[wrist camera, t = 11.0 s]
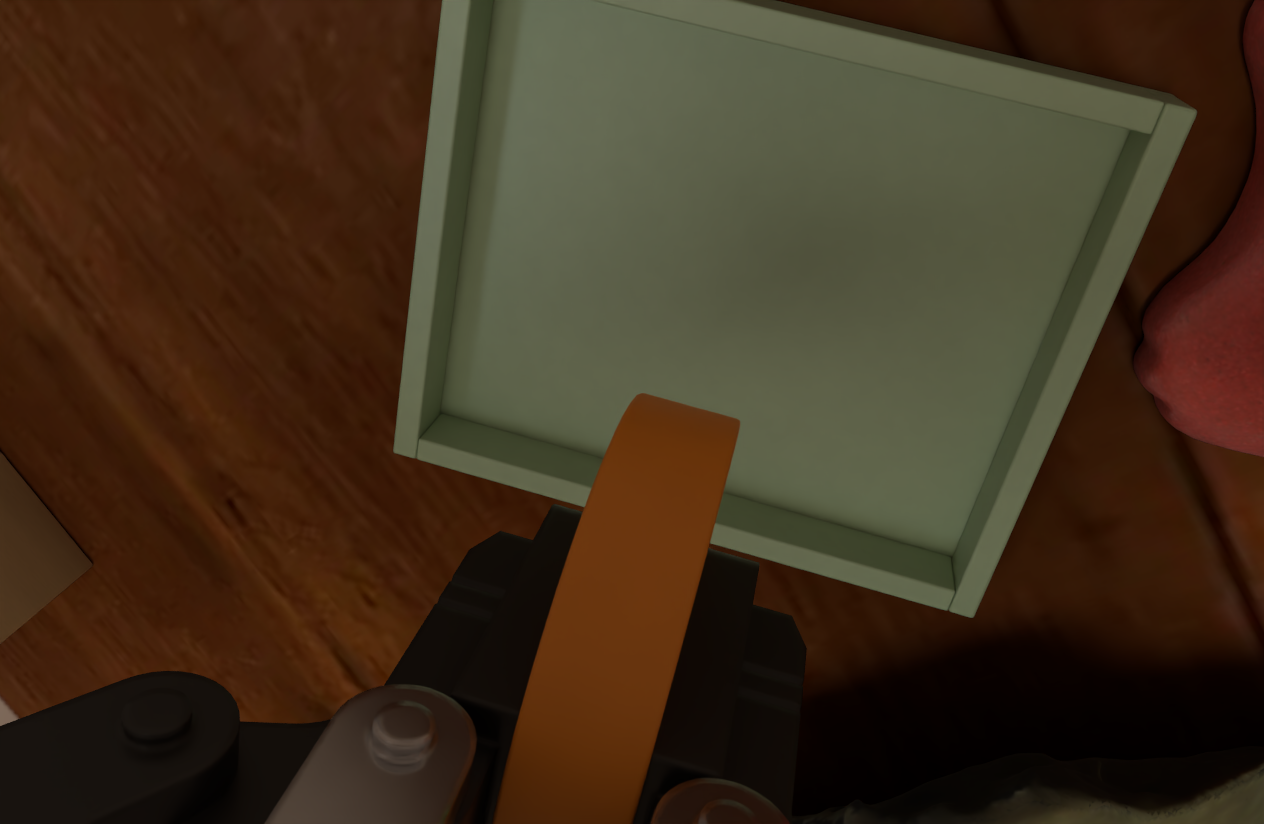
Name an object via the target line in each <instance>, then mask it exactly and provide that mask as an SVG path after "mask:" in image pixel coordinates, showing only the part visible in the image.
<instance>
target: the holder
mask: <svg viewBox="0 0 1264 824" xmlns="http://www.w3.org/2000/svg"><path fill="white" fill-rule="evenodd" d="M92 566H93V564H92V563H91V562H90V560H89V559H88V558H87V557H86V556H85V554H84V553H83V552H82V551H81V549H80V548H79V547H78V546H77V545H76V543H75V542H74V541H73V540H72V538H71V537H70V536H69V535H68V534H67V532H66V531H65V530H64V529H63V527H62V526H61V525H60V524H59V523H58V521H57V520H56V519H55V518H54V516H53V515H52V514H51V513H50V512H49V510H48V509H47V508H46V507H45V505H44V504H43V503H42V502H41V501H40V499H39V498H38V497H37V496H36V494H35V493H34V492H33V491H32V490H31V488H30V487H29V486H28V485H27V483H26V482H25V481H24V480H23V479H22V477H21V476H20V475H19V474H18V472H17V471H16V470H15V469H14V468H13V466H12V465H11V464H10V463H9V461H8V460H7V459H6V458H5V457H4V455H3V454H2V453H1V452H0V644H1V643H2V642H3V641H4V640H6V639H7V638H8V637H9V636H10V635H12V634H13V633H14V632H15V631H16V630H17V629H19V628H20V627H21V626H22V625H23V624H25V623H26V622H27V621H28V620H29V619H30V618H32V617H33V616H34V615H35V614H36V613H38V612H39V611H40V610H41V609H42V608H44V607H45V606H46V605H47V604H48V603H49V602H51V601H52V600H53V599H54V598H55V597H57V596H58V595H59V594H60V593H61V592H63V591H64V590H65V589H66V588H67V587H68V586H70V585H71V584H72V583H73V582H74V581H76V580H77V579H78V578H79V577H80V576H81V575H83V574H84V573H85V572H86V571H87V570H89V569H90V568H91V567H92Z"/></svg>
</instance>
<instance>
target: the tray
mask: <svg viewBox="0 0 1264 824" xmlns="http://www.w3.org/2000/svg"><path fill="white" fill-rule="evenodd" d="M1196 115H1197V110H1196V109H1194V108H1192V107H1191V106H1189V105H1188V104H1186V103H1184V102H1183V101H1181V100H1179V99H1178V98H1177V97H1175V96H1174V95H1172V94H1170V93H1165V92H1161V91H1157V90H1153V89H1148V88H1144V87H1140V86H1136V85H1132V84H1127V83H1123V82H1119V81H1115V80H1110V79H1106V78H1102V77H1098V76H1093V75H1089V74H1085V73H1081V72H1077V71H1072V70H1068V69H1064V68H1060V67H1055V66H1051V65H1047V64H1043V63H1038V62H1034V61H1030V60H1026V59H1022V58H1017V57H1013V56H1009V55H1005V54H1000V53H996V52H992V51H988V50H984V49H979V48H975V47H971V46H967V45H962V44H958V43H954V42H950V41H945V40H941V39H937V38H933V37H929V36H924V35H920V34H916V33H912V32H907V31H903V30H899V29H895V28H890V27H886V26H882V25H878V24H874V23H869V22H865V21H861V20H857V19H852V18H848V17H844V16H840V15H835V14H831V13H827V12H823V11H819V10H814V9H810V8H806V7H802V6H797V5H793V4H789V3H785V2H781V1H776V0H442V7H441V16H440V26H439V35H438V44H437V53H436V62H435V72H434V81H433V90H432V99H431V108H430V118H429V127H428V136H427V145H426V154H425V164H424V173H423V182H422V191H421V200H420V209H419V219H418V228H417V237H416V246H415V255H414V265H413V274H412V283H411V292H410V301H409V311H408V320H407V329H406V338H405V347H404V357H403V366H402V375H401V384H400V393H399V403H398V412H397V421H396V430H395V439H394V449H393V451H394V453H397V454H400V455H404V456H407V457H411V458H416V457H417V459H418V460H421V461H425V462H428V463H432V464H435V465H439V466H442V467H446V468H449V469H453V470H456V471H460V472H463V473H467V474H470V475H474V476H477V477H481V478H484V479H488V480H491V481H495V482H498V483H502V484H505V485H509V486H512V487H516V488H519V489H523V490H526V491H530V492H533V493H537V494H540V495H544V496H547V497H551V498H554V499H558V500H561V501H565V502H568V503H572V504H575V505H579V506H582V507H585V505H586V502H587V499H588V496H589V494H590V491H591V488H592V486H593V483H594V480H595V478H596V475H597V473H598V470H599V468H600V465H601V463H602V460H603V458H604V455H605V453H606V451H607V448H608V446H609V444H610V441H611V439H612V437H613V435H614V432H615V430H616V428H617V426H618V424H619V422H620V420H621V418H622V416H623V414H624V412H625V411H626V409H627V407H628V406H629V404H630V403H631V401H632V400H633V399H634V398H635V396H636V395H638V394H640V393H646V394H649V395H653V396H657V397H660V398H664V399H668V400H671V401H675V402H678V403H682V404H686V405H689V406H693V407H697V408H700V409H704V410H708V411H711V412H715V413H718V414H722V415H726V416H729V417H733V418H737V419H738V420H740V429H739V433H738V438H737V442H736V446H735V450H734V453H733V457H732V461H731V465H730V469H729V473H728V477H727V480H726V484H725V488H724V492H723V496H722V499H721V503H720V507H719V511H718V515H717V518H716V522H715V526H714V530H713V533H712V537H711V541H710V543H711V544H715V545H718V546H722V547H725V548H729V549H732V550H736V551H739V552H743V553H746V554H750V555H753V556H757V557H760V558H764V559H767V560H771V561H774V562H778V563H781V564H785V565H788V566H792V567H795V568H799V569H802V570H806V571H809V572H813V573H816V574H820V575H823V576H827V577H830V578H834V579H837V580H840V581H844V582H847V583H851V584H854V585H858V586H861V587H865V588H868V589H872V590H875V591H879V592H882V593H886V594H889V595H893V596H896V597H900V598H903V599H907V600H910V601H914V602H917V603H921V604H924V605H928V606H931V607H935V608H938V609H942V610H948V609H949V611H950V612H953V613H956V614H960V615H963V616H967V617H970V618H973V617H974V615H975V613H976V611H977V609H978V606H979V604H980V602H981V600H982V597H983V595H984V593H985V591H986V588H987V586H988V584H989V582H990V579H991V577H992V575H993V573H994V570H995V568H996V566H997V564H998V561H999V559H1000V557H1001V555H1002V552H1003V550H1004V548H1005V546H1006V543H1007V541H1008V539H1009V537H1010V534H1011V532H1012V530H1013V528H1014V525H1015V523H1016V521H1017V519H1018V516H1019V514H1020V512H1021V510H1022V507H1023V505H1024V503H1025V501H1026V498H1027V496H1028V494H1029V491H1030V489H1031V487H1032V485H1033V482H1034V480H1035V478H1036V476H1037V473H1038V471H1039V469H1040V467H1041V464H1042V462H1043V460H1044V458H1045V455H1046V453H1047V451H1048V449H1049V446H1050V444H1051V442H1052V440H1053V437H1054V435H1055V433H1056V431H1057V428H1058V426H1059V424H1060V422H1061V419H1062V417H1063V415H1064V413H1065V410H1066V408H1067V406H1068V404H1069V401H1070V399H1071V397H1072V395H1073V392H1074V390H1075V388H1076V386H1077V383H1078V381H1079V379H1080V377H1081V374H1082V372H1083V370H1084V368H1085V365H1086V363H1087V361H1088V359H1089V356H1090V354H1091V352H1092V350H1093V347H1094V345H1095V343H1096V341H1097V338H1098V336H1099V334H1100V332H1101V329H1102V327H1103V325H1104V322H1105V320H1106V318H1107V316H1108V313H1109V311H1110V309H1111V307H1112V304H1113V302H1114V300H1115V298H1116V295H1117V293H1118V291H1119V289H1120V286H1121V284H1122V282H1123V280H1124V277H1125V275H1126V273H1127V271H1128V268H1129V266H1130V264H1131V262H1132V259H1133V257H1134V255H1135V253H1136V250H1137V248H1138V246H1139V244H1140V241H1141V239H1142V237H1143V235H1144V232H1145V230H1146V228H1147V226H1148V223H1149V221H1150V219H1151V217H1152V214H1153V212H1154V210H1155V208H1156V205H1157V203H1158V201H1159V199H1160V196H1161V194H1162V192H1163V190H1164V187H1165V185H1166V183H1167V181H1168V178H1169V176H1170V174H1171V172H1172V169H1173V167H1174V165H1175V163H1176V160H1177V158H1178V156H1179V153H1180V151H1181V149H1182V147H1183V144H1184V142H1185V140H1186V138H1187V135H1188V133H1189V131H1190V129H1191V126H1192V124H1193V122H1194V120H1195V117H1196Z"/></svg>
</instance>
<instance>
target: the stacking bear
mask: <svg viewBox="0 0 1264 824" xmlns="http://www.w3.org/2000/svg"><path fill="white" fill-rule="evenodd" d="M1243 48H1244V57H1245V60H1246V64H1247V68H1248V72H1249V76H1250V80H1251V84H1252V89H1253V94H1254V99H1255V104H1256V125H1257V133H1256V143H1255V153H1254V157H1253V162H1252V167H1251V170H1250V174H1249V177H1248V180H1247V182H1246V184H1245V187H1244V189H1243V191H1242V194H1241V196H1240V198H1239V201H1238V203H1237V205H1236V207H1235V209H1234V211H1233V213H1232V214H1231V216H1230V218H1229V219H1228V221H1227V223H1226V224H1225V226H1224V227H1223V229H1222V230H1221V231H1220V233H1219V234H1218V236H1217V237H1216V239H1215V240H1214V241H1213V242H1212V243H1211V244H1210V245H1209V246H1208V247H1207V248H1206V249H1205V250H1204V251H1203V252H1202V253H1201V254H1200V255H1199V256H1198V257H1197V258H1196V259H1195V260H1194V261H1193V262H1191V263H1190V264H1189V265H1188V266H1187V267H1186V268H1184V269H1183V270H1182V271H1181V272H1180V273H1179V274H1177V275H1176V276H1175V277H1174V278H1173V279H1172V280H1171V281H1169V282H1168V283H1167V284H1166V285H1165V286H1164V287H1163V288H1162V289H1161V290H1160V292H1159V293H1158V294H1157V295H1156V297H1155V298H1154V299H1153V301H1152V302H1151V303H1150V305H1149V306H1148V308H1147V309H1146V311H1145V315H1144V318H1143V321H1142V329H1143V332H1144V339H1143V341H1142V344H1141V345H1140V347H1139V348H1138V350H1137V351H1136V353H1135V355H1134V360H1133V366H1134V371H1135V373H1136V376H1137V378H1138V380H1139V381H1140V383H1141V384H1142V386H1143V387H1144V388H1145V389H1146V390H1147V391H1148V392H1150V393H1151V394H1153V395H1154V400H1155V404H1156V406H1157V408H1158V410H1159V412H1160V414H1161V415H1162V416H1163V417H1164V418H1165V419H1166V421H1167V422H1168V423H1170V424H1171V425H1172V426H1173V427H1174V428H1176V429H1177V430H1179V431H1181V432H1183V433H1184V434H1186V435H1188V436H1190V437H1192V438H1194V439H1196V440H1199V441H1202V442H1205V443H1209V444H1212V445H1216V446H1220V447H1223V448H1227V449H1230V450H1234V451H1239V452H1243V453H1248V454H1252V455H1257V456H1261V457H1264V0H1254V2H1253V4H1252V6H1251V8H1250V10H1249V12H1248V15H1247V18H1246V21H1245V26H1244V32H1243Z"/></svg>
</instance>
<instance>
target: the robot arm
mask: <svg viewBox="0 0 1264 824" xmlns="http://www.w3.org/2000/svg"><path fill="white" fill-rule="evenodd" d="M582 513H583V512H581V511H577V510H574V509H570V508H567V507H563V506H560V505H556V504H553V505H552V507H551V508H550V510H549V512H548V514H547V516H546V518H545V519H544V521H543V523H542V525H541V527H540V529H539V531H538V532H537V534H536V536H535V538H534V540H530V539H526V538H523V537H520V536H516V535H513V534H509V533H506V532H502V531H500V532H498V533H496V534H495V535H493V536H491V537H490V538H488V539H486V540H485V541H483V542H481V543H480V544H478V545H476V546H475V547H473V548H471V549H470V550H469V551H468V553H467V554H466V556H465V558H464V559H463V561H462V562H461V564H460V566H459V567H458V569H457V570H456V572H455V574H454V575H453V578H452V581H451V582H450V581H449V583H448V585H447V586H446V588H445V589H444V591H443V593H442V594H441V596H440V597H439V601H438V603H437V604H435V605H434V607H433V609H432V610H431V612H430V613H429V615H428V616H427V618H426V620H425V621H424V623H423V624H422V626H421V628H420V629H419V631H418V632H417V634H416V636H415V637H414V639H413V640H412V642H411V644H410V645H409V647H408V648H407V650H406V651H405V653H404V655H403V656H402V658H401V659H400V661H399V663H398V664H397V666H396V667H395V669H394V671H393V672H392V674H391V675H390V677H389V679H388V680H387V682H386V683H385V685H384V686H379V687H376V688H372V689H369V690H367V691H364V692H362V693H360V694H358V695H356V696H354V697H353V698H351V699H350V700H348V701H347V702H346V703H345V704H344V705H342V706H341V707H340V708H339V710H338V711H337V712H336V713H335V715H334V716H333V717H332V719H330V720H326V721H322V722H314V723H304V724H287V723H262V722H240V717H239V710H238V707H237V703H236V702H235V700H234V698H233V697H232V695H231V694H230V693H229V692H228V691H227V690H226V689H225V688H224V687H223V686H221V685H220V684H218V683H217V682H215V681H213V680H211V679H209V678H206V677H204V676H200V675H197V674H193V673H187V672H180V671H161V672H151V673H146V674H141V675H137V676H133V677H130V678H127V679H124V680H121V681H119V682H116V683H113V684H111V685H108V686H105V687H103V688H100V689H97V690H95V691H92V692H90V693H87V694H84V695H82V696H79V697H76V698H74V699H71V700H68V701H66V702H63V703H60V704H58V705H55V706H52V707H50V708H47V709H44V710H42V711H39V712H36V713H34V714H31V715H29V716H26V717H23V718H21V719H18V720H16V721H13V722H10V723H7V724H5V725H2V726H0V824H492V820H493V816H494V811H495V807H496V802H497V798H498V794H499V790H500V786H501V782H502V778H503V774H504V769H505V765H506V761H507V757H508V754H509V750H510V746H511V742H512V739H513V735H514V731H515V727H516V724H517V720H518V716H519V713H520V709H521V706H522V702H523V698H524V695H525V691H526V688H527V684H528V681H529V677H530V674H531V670H532V667H533V664H534V660H535V657H536V654H537V650H538V647H539V644H540V640H541V637H542V633H543V630H544V627H545V624H546V621H547V618H548V614H549V611H550V608H551V605H552V602H553V598H554V595H555V592H556V589H557V586H558V583H559V580H560V577H561V574H562V571H563V568H564V565H565V562H566V559H567V556H568V553H569V550H570V547H571V544H572V541H573V538H574V535H575V533H576V530H577V527H578V524H579V521H580V518H581V515H582ZM758 571H759V563H758V562H754V561H751V560H748V559H744V558H741V557H737V556H734V555H730V554H727V553H723V552H720V551H716V550H713V549H709V548H708V552H707V556H706V559H705V563H704V567H703V570H702V574H701V578H700V582H699V585H698V589H697V593H696V596H695V600H694V604H693V607H692V611H691V615H690V618H689V622H688V626H687V630H686V633H685V637H684V640H683V644H682V648H681V651H680V655H679V659H678V662H677V666H676V670H675V673H674V677H673V681H672V684H671V688H670V692H669V695H668V699H667V703H666V706H665V710H664V713H663V717H662V721H661V724H660V728H659V732H658V735H657V739H656V742H655V746H654V750H653V753H652V757H651V760H650V764H649V768H648V771H647V775H646V778H645V782H644V786H643V789H642V793H641V796H640V800H639V804H638V807H637V811H636V814H635V818H634V821H633V824H792V804H793V793H794V782H795V771H796V760H797V749H798V738H799V727H800V716H801V713H800V709H801V705H802V694H803V686H802V685H803V681H804V672H805V661H806V650H807V648H806V646H805V644H804V642H803V640H802V637H801V635H800V633H799V631H798V628H797V626H796V624H795V622H794V620H793V617H792V616H790V615H787V614H783V613H780V612H777V611H773V610H770V609H766V608H763V607H759V606H756V605H753V599H754V594H755V588H756V582H757V576H758Z"/></svg>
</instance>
